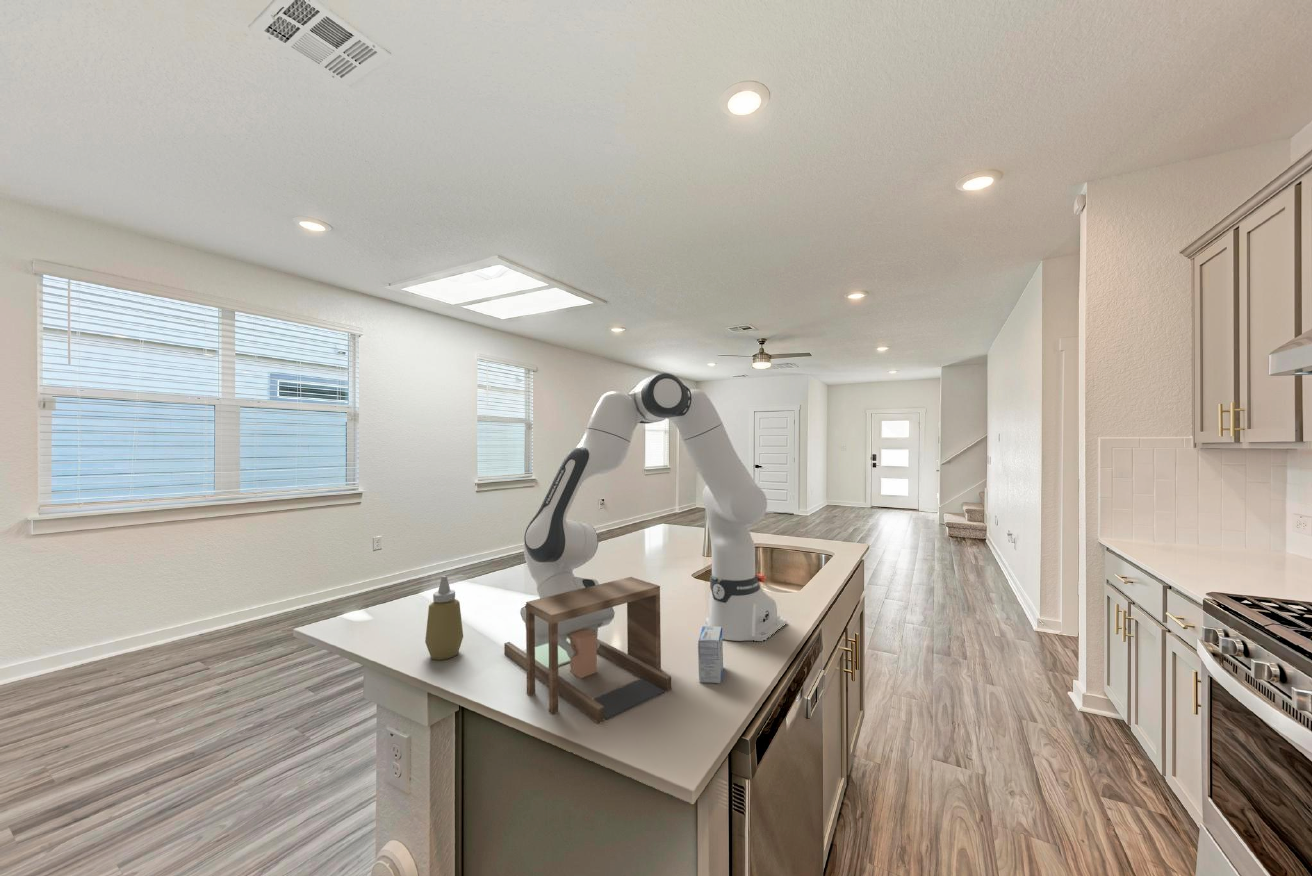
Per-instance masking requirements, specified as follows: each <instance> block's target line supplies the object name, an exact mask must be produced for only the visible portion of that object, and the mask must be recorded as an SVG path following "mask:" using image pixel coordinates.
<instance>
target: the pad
mask: <svg viewBox="0 0 1312 876" xmlns="http://www.w3.org/2000/svg"><path fill="white" fill-rule="evenodd" d="M566 641H568V642H569V643H570V638H569V637H567V639H566ZM522 651H524V652H525V653H526V649H524V650H522ZM535 660H537V661H538V662H540V663H541V664H543V665H544V666H546V667H547V668H549V643H548V644H544V645H541V646H538V647H535ZM568 663H569V664H570V658H569V657H568V654H567V652H566V651H565V650H564V649H562V648H561V647H560V646H559V645H558V667H560V666H563V665H566V664H568Z"/></svg>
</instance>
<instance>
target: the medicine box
mask: <svg viewBox="0 0 1312 876" xmlns="http://www.w3.org/2000/svg"><path fill="white" fill-rule="evenodd" d="M723 640H724V639H722V627H716V626H707V625H705V626H702V628H701V631H700V635H699V638H698V641H697V652H698V653H697V657H698V659H697V660H698V662H697V663H698V680H699V681H698V682H699V683H707V684H718V683H720V684H721V683H722V682H721V681H722V676H723V669H724V649H723V648H724V647H723V646H724V645H723V643H724V642H723Z"/></svg>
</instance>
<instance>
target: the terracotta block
mask: <svg viewBox="0 0 1312 876" xmlns="http://www.w3.org/2000/svg"><path fill="white" fill-rule="evenodd" d="M569 639H570V644H571V645H572V646H573V645H575V646H576V649H577V650H578V654H577V655H576V656H574V657H572V658H570V662H569V665H570V666H569V667H570V673H572V674H573V675H575V676H576V677H578V678H579V679H583V678H585V677H588V676H591V675H593V674H595V673H597V672H598V661H597V660H598V657H597V655H598V653H597V639H598V635H597V634H595V633H593V632H591V631H589V630H587V629H584V630H581V631H578V632H574V633H571V634H570V638H569Z"/></svg>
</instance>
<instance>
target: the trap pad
mask: <svg viewBox="0 0 1312 876" xmlns="http://www.w3.org/2000/svg"><path fill="white" fill-rule="evenodd" d="M665 693H666V691H665V690H663V689H661V688H660V687H658V686H656V685H654V684H652V683H650V682H649V681H647V680H645V679H643V678H641V677H640V678H639V679H637V680H635V681H632V682H630V683H627V684H625V685H623V686H620V687H618V688H616V689H613V690H611V691H609V692H606V693H604V694H601V695H599V696H597V697H594V698H593V699H594V700H595V701H597V702H598V703H600V704H601V705H603V706H604V721H605V720H606V721H607V720H609V719H611V718H614V717H616V716H619V715H620V714H623V713H624V712H627V711H629V710H630V709H632V708H636V707H637V706H640V705H642V704H644V703H646V702H647V701H650V700H652V699H654V698H656V697H658V696H659V697H660V696H661V695H663V694H665Z"/></svg>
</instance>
